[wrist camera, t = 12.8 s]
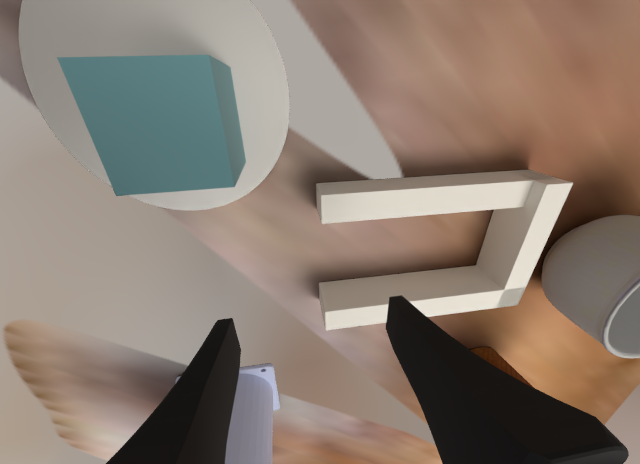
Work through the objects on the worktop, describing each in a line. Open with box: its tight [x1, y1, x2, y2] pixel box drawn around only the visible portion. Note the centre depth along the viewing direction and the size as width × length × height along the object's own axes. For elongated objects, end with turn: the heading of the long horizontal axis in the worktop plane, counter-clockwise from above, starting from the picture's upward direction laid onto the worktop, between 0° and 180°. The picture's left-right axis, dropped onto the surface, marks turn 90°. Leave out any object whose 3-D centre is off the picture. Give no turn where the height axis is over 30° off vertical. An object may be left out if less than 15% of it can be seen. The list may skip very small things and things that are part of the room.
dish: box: [19, 0, 290, 210], centre depth 14 cm, size 13×13×1 cm
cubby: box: [316, 170, 573, 330], centre depth 21 cm, size 17×11×4 cm, turn 91°
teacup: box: [542, 215, 640, 358], centre depth 22 cm, size 14×11×8 cm
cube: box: [57, 55, 246, 196], centre depth 12 cm, size 5×5×5 cm
